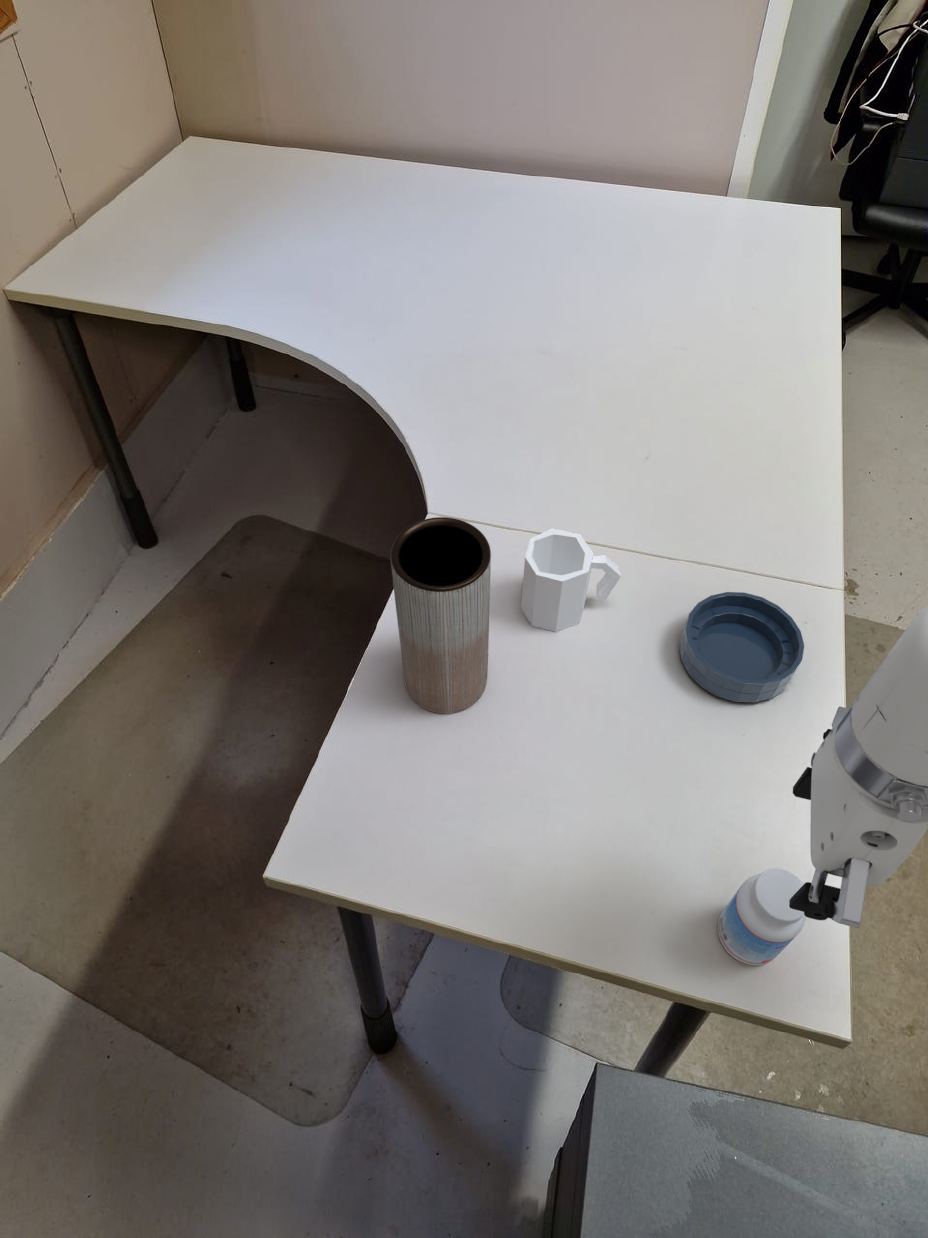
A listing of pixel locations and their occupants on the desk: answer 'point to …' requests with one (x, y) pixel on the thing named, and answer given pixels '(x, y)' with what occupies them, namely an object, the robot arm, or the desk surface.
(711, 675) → the dish
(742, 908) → the pill bottle
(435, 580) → the planter
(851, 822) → the robot arm
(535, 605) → the mug
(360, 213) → the desk surface
